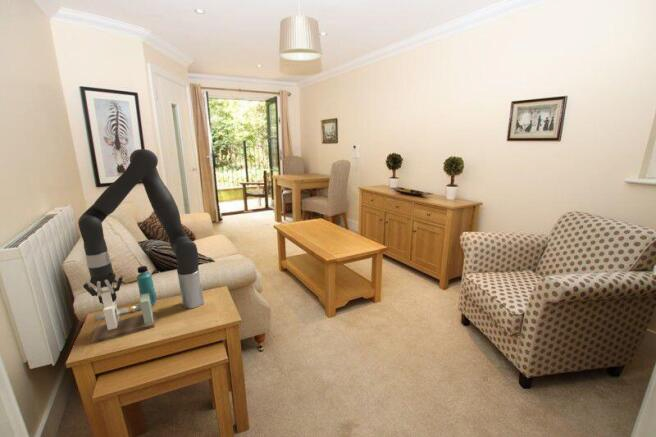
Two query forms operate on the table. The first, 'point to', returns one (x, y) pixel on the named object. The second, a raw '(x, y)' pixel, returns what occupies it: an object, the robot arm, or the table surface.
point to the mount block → (146, 308)
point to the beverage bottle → (146, 283)
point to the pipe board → (121, 328)
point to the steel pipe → (121, 311)
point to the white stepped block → (109, 310)
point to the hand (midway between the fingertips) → (108, 301)
